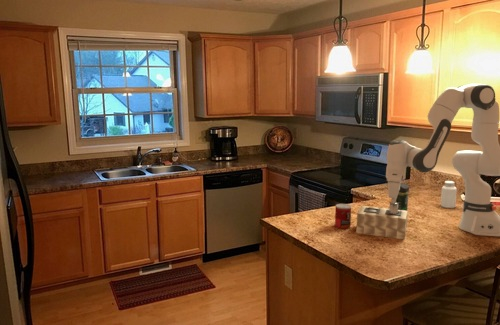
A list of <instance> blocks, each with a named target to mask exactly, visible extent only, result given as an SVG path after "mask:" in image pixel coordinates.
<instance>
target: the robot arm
mask: <svg viewBox="0 0 500 325" xmlns="http://www.w3.org/2000/svg"><path fill="white" fill-rule="evenodd" d="M499 105H500V104H499V103H498V102H497V101H496V92H495V89H494V88H493V87H492V86H491V85H490V84H485V83H470V84H466V85H464V84H463V85H460V86H458V87H453V86H451V87H447V88H445V89H444V90H443V91H442V93H441V94H440V95H439V96H438V97H437V98H436V100H435V101H434V103H433V104H432V106H431V108H430V110H429V111H428V114H427V120H428V123H429V124H430V125H431V126H432V129H433V132H432V134H431V136H430V138H429V140H428V142H427V144H426V146H425V147H424V148H420V147H417V146H414V145H411V144H409V143H408V142H407V141H406V140H403V139H402V140H401V139H400V140H393V141H391V142H390V143H389V144H388V148H387V151H386V153H387V154H386V161H387V165H386V170H385V178H386V182H387V190H388V191H387V193H388V194H387V196H388V198H389V199H391V202H392V204H395V203H396V198H397V196H398V193H399V190H400V183H401V184H403V181H404V180H406V175H407V174H406V173H407V167H410V168H412V169H415V170H417V171H419V172H421V173H429V172H431V171H432V170H434V168H435V167H436V166H437V163H438V158H439V155H440V152H441V150H442V148H443V146H444V145H445V143H446V140H447V138H448V136H449V134H450V132H451V129H452V123H453V122H454V120H455V118H456V116H457V114H458V112H459V110H460V109H461V108H465V109H472V112H473V116H472V124H471V125H472V126H471V133H470V136H471V140H472V141H473V142H475V143H476V144H478V145H479V146H480V147H481V148H482V151H479V150H470V149H469V150H458V151H456V152H455V154H453V156H452V160H451V164H452V167H453V168H454V169H455V170H456V171H457V172H458V173H459V175H461V177H462V180H463V182H464V187H465V188H464V189H465V190H464V199H463V203H462V214H461V220H460V221H459V222H460V223H459V225H458V228H459V229H460V230H461V231H464V232H467V233H469V234H473V235H475V236H486V237H487V236H488V237H500V215H499V214H498V213H497V212H496V210H497V206H496V205H495V204H494V203H492V202H491V199H492V187H491V185H490V184H489V183H487V181H484V180H483V179H482V178H481V175H484V176H491V177H492V176H493V177H500V143H499V127H500V126H499V125H500V106H499Z"/></svg>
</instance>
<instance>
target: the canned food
mask: <svg viewBox="0 0 500 325" xmlns="http://www.w3.org/2000/svg"><path fill="white" fill-rule="evenodd" d="M334 210H335V215H334V217H335V218H334V226H335V227H336V228H337V229H341V230H348V229H350V228H351V220H352V205H351V204H348V203H337V204H335V209H334Z"/></svg>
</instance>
